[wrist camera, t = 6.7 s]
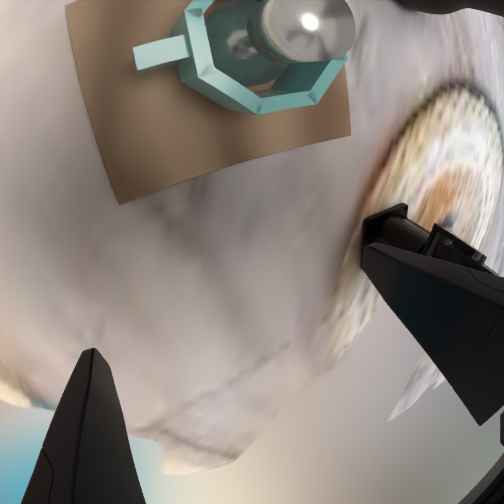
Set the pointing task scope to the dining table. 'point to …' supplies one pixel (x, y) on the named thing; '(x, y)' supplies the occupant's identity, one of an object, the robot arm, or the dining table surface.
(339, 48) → the plunger
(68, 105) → the dining table surface
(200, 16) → the teal handled cup
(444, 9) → the cola bottle
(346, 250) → the dining table surface
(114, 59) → the board
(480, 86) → the dining table surface
